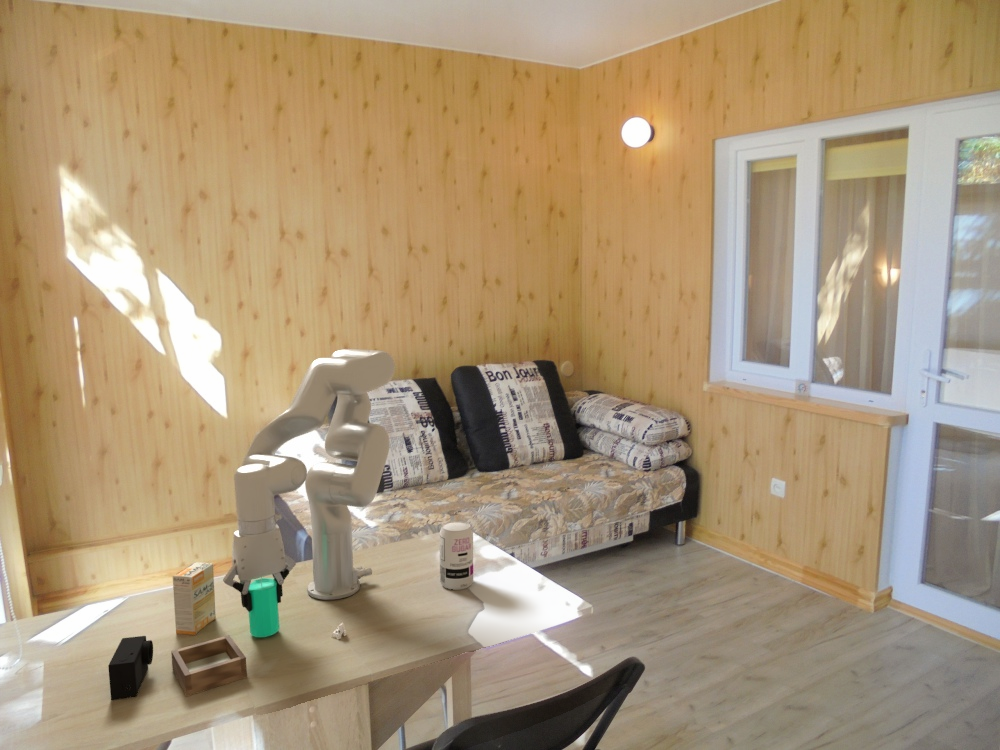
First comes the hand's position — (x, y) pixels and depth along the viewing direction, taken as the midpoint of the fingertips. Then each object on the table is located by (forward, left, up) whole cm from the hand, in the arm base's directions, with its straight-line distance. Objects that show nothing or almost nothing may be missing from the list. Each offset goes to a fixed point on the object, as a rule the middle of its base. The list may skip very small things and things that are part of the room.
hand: (262, 603), depth 158 cm
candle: (0, 0, -6) cm, 6 cm away
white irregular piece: (-12, +9, -8) cm, 17 cm away
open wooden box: (+14, +9, -7) cm, 18 cm away
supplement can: (-47, +2, -7) cm, 48 cm away
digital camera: (+26, +4, -7) cm, 28 cm away
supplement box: (+11, -13, -7) cm, 18 cm away
